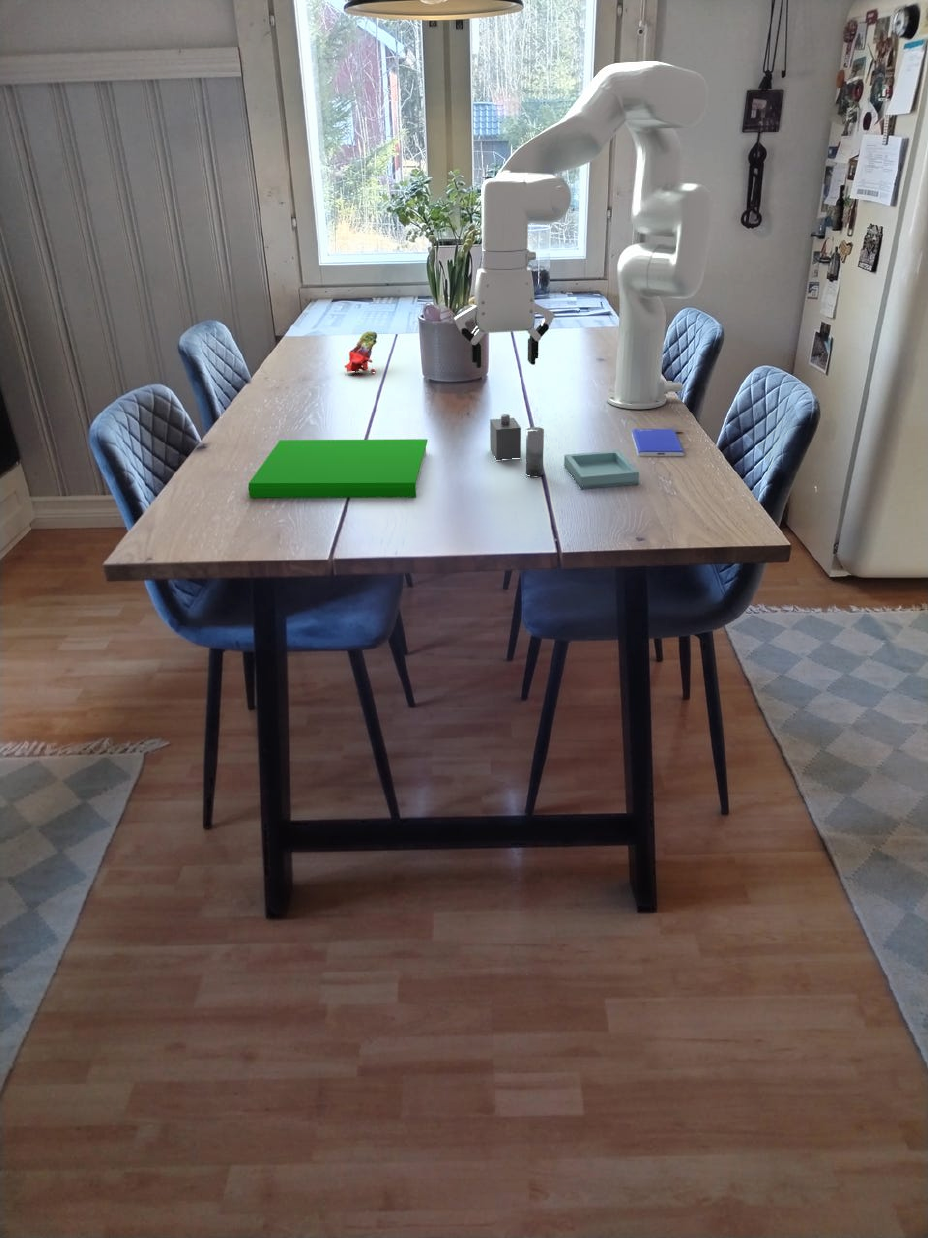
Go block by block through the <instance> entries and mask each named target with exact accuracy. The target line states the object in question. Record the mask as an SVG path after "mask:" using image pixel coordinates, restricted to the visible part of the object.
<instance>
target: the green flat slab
mask: <svg viewBox="0 0 928 1238" xmlns="http://www.w3.org/2000/svg"><path fill="white" fill-rule="evenodd" d="M427 444H428V439H425V438H423V439H421V438H420V439H417V438H416V439H415V438H413V439H408V438H406V439H405V438H404V439H301V440H300V439H287V440H286V439H283V440H282V439H281V440H278V442H277V443H276V444H275V446H274V447H273V449H272V450H271V452H269V455H268V456H267V457H266V459H265V460H264V461H263V463H262V464H261V466H260V467H259V468H258V470H257V471H256V472H255V474H254V475H253V476H252V478H251V479H250V481H249V482H248V486H247V487H248V488H247V489H248V494H249V498H250V499H296V498H297V499H304V498H305V499H309V498H311V499H314V498H315V499H320V498H321V499H324V498H325V499H326V498H327V499H328V498H329V499H334V498H336V499H337V498H338V499H339V498H340V499H343V498H344V499H345V498H347V499H348V498H349V499H351V498H353V499H354V498H355V499H356V498H358V499H359V498H361V499H363V498H365V499H366V498H367V499H368V498H382V499H383V498H384V499H385V498H417V487H418V483H419V480H420V476H421V472H422V468H423V466H424V462H425V458H426V454H427Z"/></svg>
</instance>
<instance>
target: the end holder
mask: <svg viewBox="0 0 928 1238" xmlns="http://www.w3.org/2000/svg"><path fill="white" fill-rule="evenodd" d="M563 456H564V457H563V467H564V466H565V467H564V469H565V470H566V469H567V470H568V471H567V470H566V471H567V473H568V472H569V473H570V474H571V475H572V477H573V478H574V479H573V478H572V477H571V478H572V479H573V481H574V480H575V481H576V482H575V481H574V482H575V484H576V483H577V484H578V485H579V486H578V485H577V484H576V485H577V486H578V488H579V487H580V488H581V489H580V488H579V489H580V490H585V489H584V488H589V489H597V488H598V489H599V488H600V487H601V488H609V487H610V488H613V487H620V486H621V487H622V486H632V485H633V486H634V485H639V479H640V477H639V475H640V471H639V470H638V469H637V468H636V467H635V466H634V465H633V464H632V463H631V462H630V461H629V459H627V457H626V456H625V455H624V454H623V453H622V452H621V450H616V449H615V450H609V451H608V450H607V451H605V450H604V451H594V452H593V451H592V452H583V453H582V452H581V453H570V454H569V453H568V454H564V455H563ZM569 473H568V474H569ZM570 474H569V475H570ZM571 475H570V476H571Z"/></svg>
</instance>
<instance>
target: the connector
mask: <svg viewBox="0 0 928 1238" xmlns="http://www.w3.org/2000/svg"><path fill="white" fill-rule="evenodd" d="M489 423H490V424H489V427H490V428H489V429H490V430H489V432H490V433H489V434H490V435H489V436H490V452H491V451H492V452H491V454H492V453H493V454H494V456H495V458H496V459H495V458H494V459H495V461H496V460H502V459H512V458H521V457H522V455H521V454H522V450H521V448H522V444H521V443H522V427H521V425H520V424H519V422H518V421H517V420H516V418H515V417H511V415H510V414H508V413H504V414H501V415H500V418H493V419H492V418H491V419H490V420H489ZM493 454H492V455H493ZM494 456H493V457H494ZM521 459H522V458H521Z"/></svg>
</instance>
